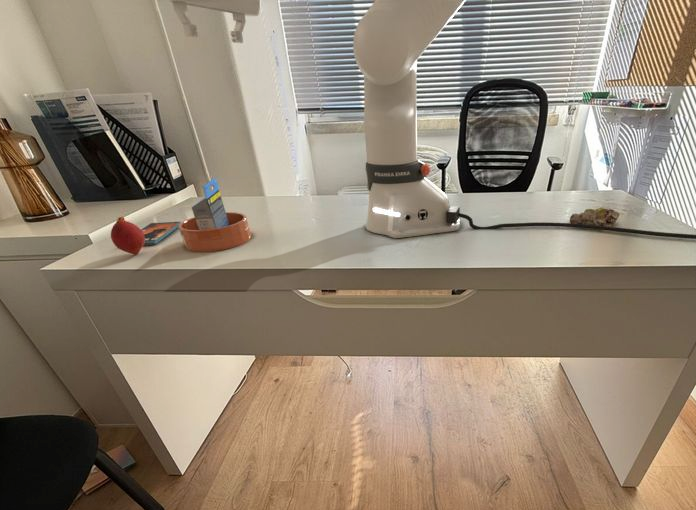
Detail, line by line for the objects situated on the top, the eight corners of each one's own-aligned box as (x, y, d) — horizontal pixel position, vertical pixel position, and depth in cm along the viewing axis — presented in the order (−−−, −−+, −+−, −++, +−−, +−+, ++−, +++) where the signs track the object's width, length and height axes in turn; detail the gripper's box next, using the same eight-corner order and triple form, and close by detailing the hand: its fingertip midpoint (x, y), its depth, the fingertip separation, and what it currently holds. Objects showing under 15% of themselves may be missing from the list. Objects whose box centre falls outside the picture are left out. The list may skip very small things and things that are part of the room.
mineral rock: (608, 206, 91) (627, 205, 84) (606, 225, 93) (625, 226, 85) (562, 210, 91) (577, 209, 84) (561, 229, 93) (576, 230, 85)
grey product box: (216, 233, 92) (198, 178, 85) (232, 232, 92) (216, 177, 85) (203, 246, 85) (183, 186, 78) (221, 244, 85) (203, 185, 78)
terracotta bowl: (257, 229, 95) (252, 210, 92) (242, 249, 83) (236, 228, 81) (199, 232, 95) (192, 214, 92) (175, 253, 83) (167, 232, 80)
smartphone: (118, 243, 87) (150, 222, 100) (121, 249, 88) (152, 228, 100) (153, 240, 87) (181, 220, 99) (156, 246, 88) (183, 225, 100)
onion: (136, 259, 81) (119, 221, 76) (113, 258, 82) (95, 220, 77) (156, 250, 85) (141, 213, 81) (134, 249, 86) (118, 212, 82)
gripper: (143, -85, 58) (169, 32, 66) (259, -48, 72) (269, 46, 80) (125, -80, 61) (151, 32, 69) (240, -45, 75) (251, 45, 83)
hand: (215, 40), depth 75 cm, fingers open, 8 cm apart
